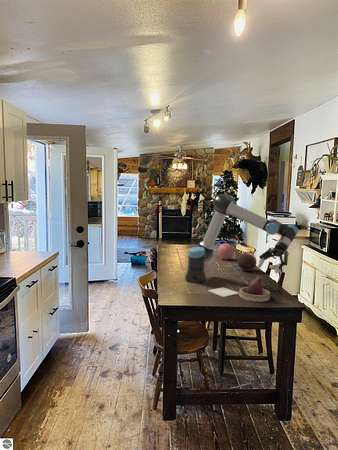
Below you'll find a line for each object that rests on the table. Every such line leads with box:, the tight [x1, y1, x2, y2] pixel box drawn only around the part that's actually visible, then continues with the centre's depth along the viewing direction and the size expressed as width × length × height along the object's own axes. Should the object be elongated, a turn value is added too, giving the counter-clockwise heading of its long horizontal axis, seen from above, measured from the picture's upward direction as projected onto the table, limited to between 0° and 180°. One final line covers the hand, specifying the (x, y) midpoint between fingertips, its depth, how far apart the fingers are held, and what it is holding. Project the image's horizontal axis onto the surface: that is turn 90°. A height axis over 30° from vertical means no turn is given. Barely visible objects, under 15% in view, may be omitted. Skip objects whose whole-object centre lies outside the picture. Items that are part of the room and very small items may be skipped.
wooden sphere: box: [237, 252, 257, 272], centre depth 277 cm, size 15×15×15 cm
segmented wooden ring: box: [238, 286, 271, 303], centre depth 209 cm, size 18×18×4 cm
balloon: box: [217, 242, 239, 261], centre depth 319 cm, size 15×20×15 cm
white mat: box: [207, 286, 239, 298], centre depth 216 cm, size 14×14×1 cm
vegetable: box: [246, 276, 263, 295], centre depth 208 cm, size 10×10×15 cm
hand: (266, 270), depth 213 cm, fingers open, 13 cm apart
